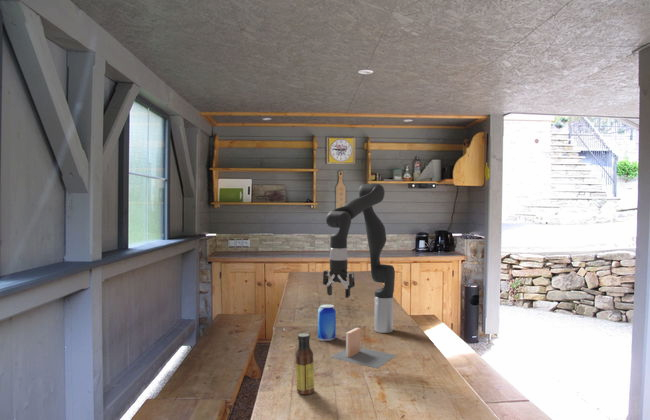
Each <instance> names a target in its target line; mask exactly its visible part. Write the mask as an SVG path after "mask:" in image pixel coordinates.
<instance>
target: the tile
mask: <svg viewBox="0 0 650 420" xmlns="http://www.w3.org/2000/svg"><path fill="white" fill-rule="evenodd" d="M360 348H361V327H355V328H353V329H351V330H348V331H347V332H345V349H346V357H351V356H353V355H355V354H357V353H358V352H360Z"/></svg>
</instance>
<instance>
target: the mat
mask: <svg viewBox="0 0 650 420" xmlns="http://www.w3.org/2000/svg"><path fill="white" fill-rule="evenodd" d="M397 356H398V355H397V354H393V353H387V352H382V351H379V350H374V349H368V348H365V347H364V348H363V347H360V352H358V353H357V354H355V355H353V356H351V357H346V348H345V349H342V350H341V351H339V352H337V353H335V354H334V355H331V356H330V357H329V358H330V359H335V360H338V361H342V362H343V361H344V362H348V363H352V364H356V365H361V366H364V367H369V368H374V369H379V368H381V367H383V366H384V365H385V364H387V363H388V362H389V361H391V360H392V359H394V358H395V357H397Z"/></svg>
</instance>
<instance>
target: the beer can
mask: <svg viewBox="0 0 650 420" xmlns="http://www.w3.org/2000/svg"><path fill="white" fill-rule="evenodd" d="M336 314H337V310H336V308H335V307H334V305H333V304H330V303H325V304H324V303H322V304H319V307H318V310H317V338H318V340H319V341H321V342H326V341H327V342H329V341H333V340H335V339H336V337H337V336H336V329H337V328H336V327H337V326H336V325H337V323H336V322H337V320H336V319H337V318H336V317H337V315H336Z"/></svg>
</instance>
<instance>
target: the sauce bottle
mask: <svg viewBox="0 0 650 420" xmlns="http://www.w3.org/2000/svg"><path fill="white" fill-rule="evenodd" d="M310 337H311V336H310V334H309V333H306V332H302V333H299V334H297V340H298V347H297V350H296V352H295V380H296V381H295V382H296V384H295V386H296V392H297V393H298V394H300V395H305V396H306V395H311V394H313V393H314V392H315V362H314V352H313V351H312V349H311V347H310Z"/></svg>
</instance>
